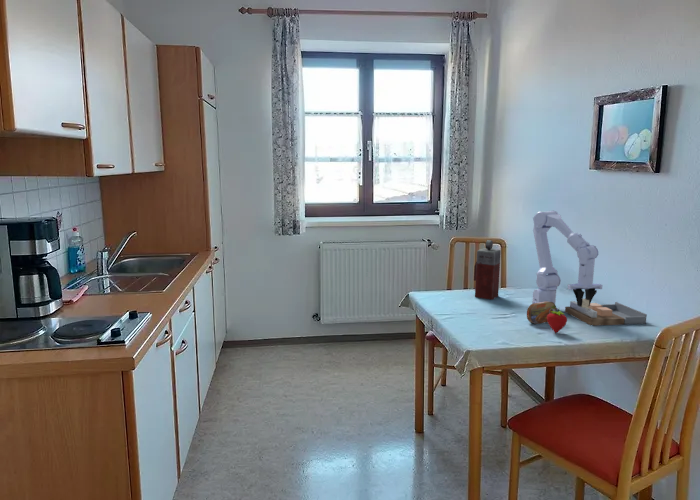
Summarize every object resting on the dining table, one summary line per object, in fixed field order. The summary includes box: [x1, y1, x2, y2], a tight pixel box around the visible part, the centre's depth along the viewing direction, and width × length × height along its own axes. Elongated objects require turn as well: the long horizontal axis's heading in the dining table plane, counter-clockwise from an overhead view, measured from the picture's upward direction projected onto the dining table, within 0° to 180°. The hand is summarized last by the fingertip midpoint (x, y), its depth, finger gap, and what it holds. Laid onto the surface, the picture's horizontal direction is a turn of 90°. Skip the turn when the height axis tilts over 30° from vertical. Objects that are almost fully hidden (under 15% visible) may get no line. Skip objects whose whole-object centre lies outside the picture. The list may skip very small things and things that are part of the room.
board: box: [564, 306, 625, 326], centre depth 227 cm, size 14×20×2 cm
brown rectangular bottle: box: [473, 239, 502, 301], centre depth 261 cm, size 9×11×28 cm
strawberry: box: [547, 310, 568, 334], centre depth 206 cm, size 6×8×10 cm
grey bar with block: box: [569, 298, 597, 318], centre depth 225 cm, size 3×17×6 cm, turn 8°
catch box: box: [601, 301, 648, 325], centre depth 228 cm, size 10×20×4 cm, turn 8°
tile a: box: [596, 307, 612, 316], centre depth 223 cm, size 4×4×2 cm
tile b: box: [588, 302, 603, 311], centre depth 230 cm, size 4×4×2 cm
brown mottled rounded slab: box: [526, 301, 558, 325], centre depth 220 cm, size 15×3×8 cm, turn 117°
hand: (583, 305), depth 225 cm, fingers closed on grey bar with block, 3 cm apart
